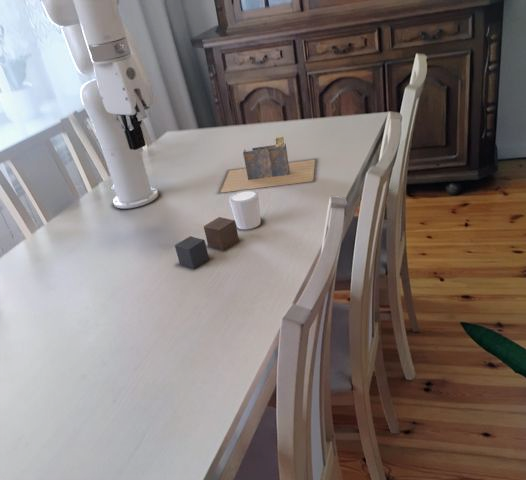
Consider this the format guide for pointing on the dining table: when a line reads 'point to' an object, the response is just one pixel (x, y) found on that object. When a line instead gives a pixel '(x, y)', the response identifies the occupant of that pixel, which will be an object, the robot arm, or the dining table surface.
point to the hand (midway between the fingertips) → (138, 147)
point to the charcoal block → (192, 252)
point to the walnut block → (221, 233)
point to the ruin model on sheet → (268, 169)
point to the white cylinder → (246, 209)
